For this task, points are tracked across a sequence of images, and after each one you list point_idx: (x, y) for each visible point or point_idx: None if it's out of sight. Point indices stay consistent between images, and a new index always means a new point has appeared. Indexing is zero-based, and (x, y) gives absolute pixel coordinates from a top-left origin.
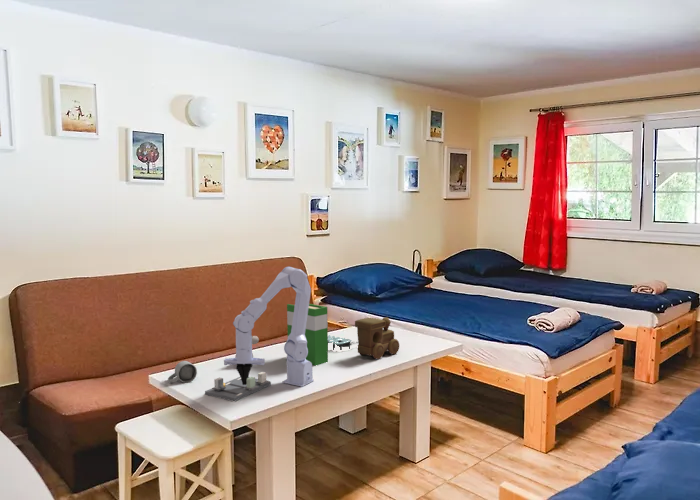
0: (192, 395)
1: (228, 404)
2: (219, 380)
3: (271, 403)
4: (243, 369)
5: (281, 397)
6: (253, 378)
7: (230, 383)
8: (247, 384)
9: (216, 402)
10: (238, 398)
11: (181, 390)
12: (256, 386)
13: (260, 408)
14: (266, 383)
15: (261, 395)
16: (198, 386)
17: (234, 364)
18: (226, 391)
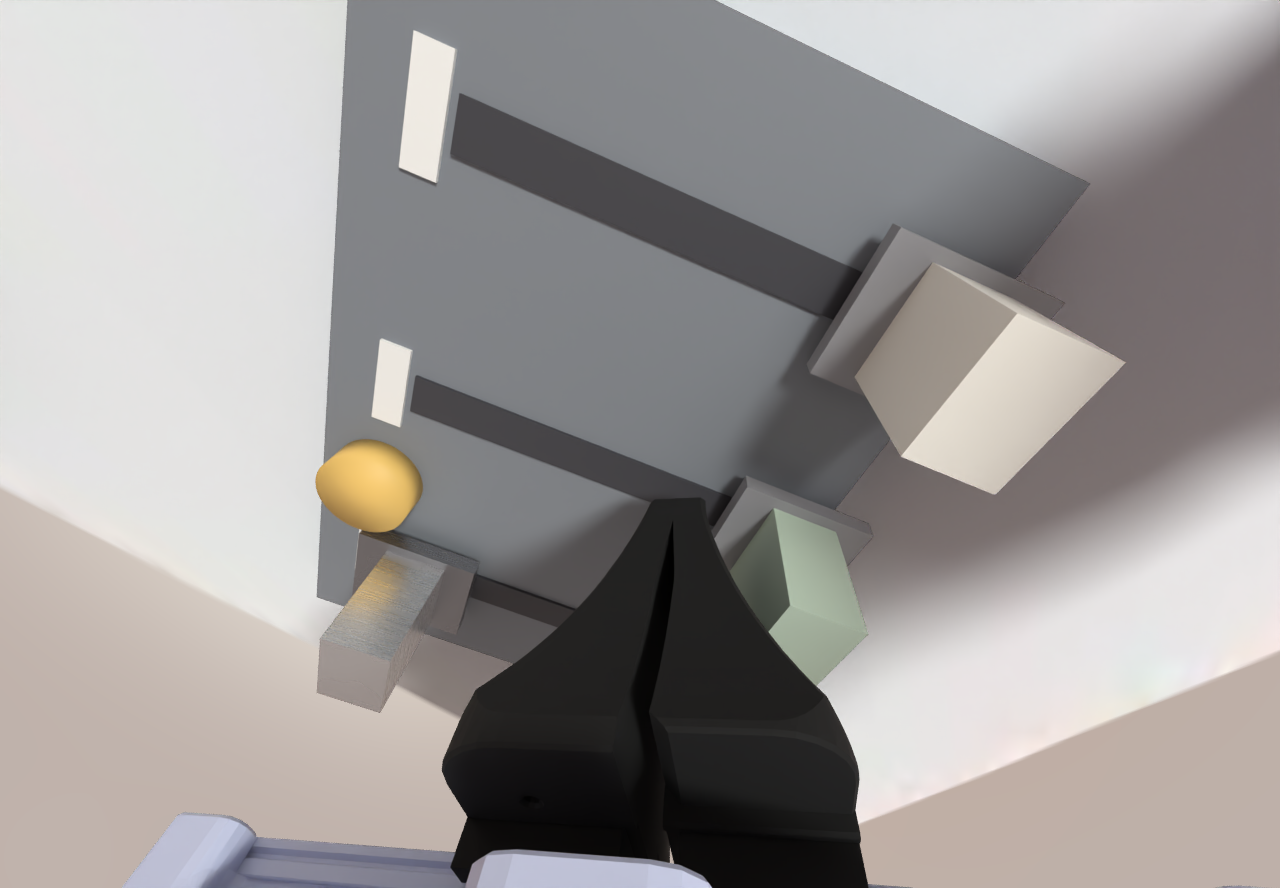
0: (255, 591)
1: None
2: (388, 691)
3: (1023, 722)
4: (661, 789)
5: (1155, 618)
6: (841, 652)
7: (416, 367)
8: None
9: None
10: None
11: (54, 496)
12: (856, 550)
13: (924, 781)
14: None
15: (911, 578)
16: (80, 377)
17: (425, 873)
18: (527, 609)
